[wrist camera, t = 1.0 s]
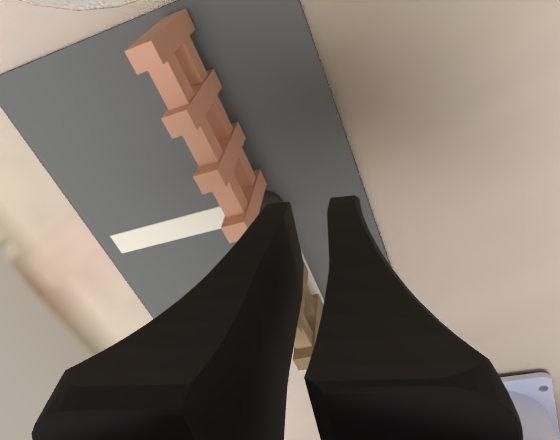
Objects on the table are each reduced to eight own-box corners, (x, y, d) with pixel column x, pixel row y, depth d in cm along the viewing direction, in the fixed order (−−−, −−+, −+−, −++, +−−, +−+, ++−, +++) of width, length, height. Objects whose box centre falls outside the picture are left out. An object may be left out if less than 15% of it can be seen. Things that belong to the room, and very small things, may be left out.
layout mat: (409, 320, 28) (409, 325, 27) (186, 358, 32) (184, 362, 32) (284, -45, 18) (283, -43, 18) (-13, 80, 22) (-18, 83, 22)
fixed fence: (342, 328, 29) (340, 397, 25) (315, 332, 29) (309, 401, 25) (277, 183, 23) (263, 243, 20) (246, 191, 24) (226, 252, 20)
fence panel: (266, 183, 23) (252, 237, 20) (246, 189, 23) (229, 243, 20) (185, 8, 19) (151, 40, 16) (163, 17, 19) (123, 51, 16)
